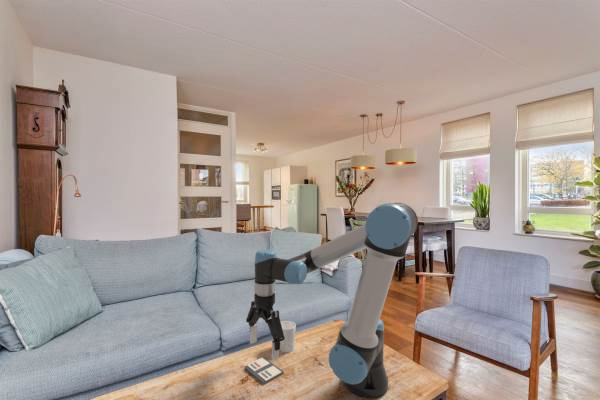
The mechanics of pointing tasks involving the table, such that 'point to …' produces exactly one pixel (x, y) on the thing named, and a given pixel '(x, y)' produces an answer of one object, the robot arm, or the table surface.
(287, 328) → the white cup
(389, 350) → the table surface
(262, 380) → the label board
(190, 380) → the table surface
